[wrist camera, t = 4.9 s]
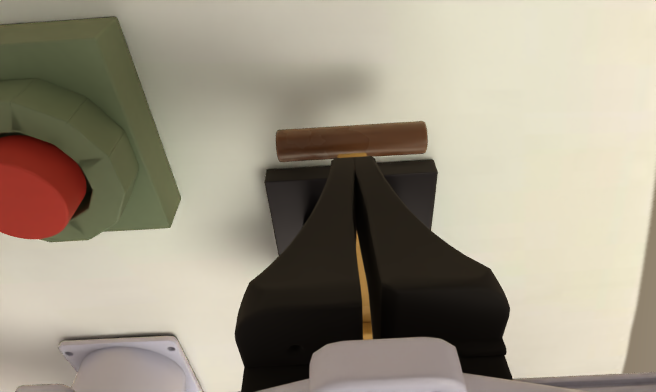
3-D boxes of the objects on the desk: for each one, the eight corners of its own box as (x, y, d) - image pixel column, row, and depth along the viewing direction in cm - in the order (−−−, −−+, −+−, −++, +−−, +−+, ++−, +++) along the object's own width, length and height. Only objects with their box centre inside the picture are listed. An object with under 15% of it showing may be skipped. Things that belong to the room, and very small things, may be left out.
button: (101, 206, 18) (84, 237, 17) (15, 211, 18) (-9, 242, 17) (63, 130, 16) (39, 159, 15) (-36, 136, 16) (-68, 166, 15)
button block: (182, 198, 23) (160, 257, 20) (45, 206, 23) (3, 265, 20) (117, 16, 17) (72, 59, 14) (-64, 28, 17) (-147, 74, 14)
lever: (279, 124, 18) (272, 136, 16) (418, 116, 18) (431, 126, 16) (302, 355, 21) (298, 392, 19) (418, 350, 21) (429, 387, 19)
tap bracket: (266, 169, 22) (243, 314, 15) (434, 159, 21) (482, 303, 15) (290, 298, 28) (281, 439, 22) (419, 292, 28) (449, 432, 22)
